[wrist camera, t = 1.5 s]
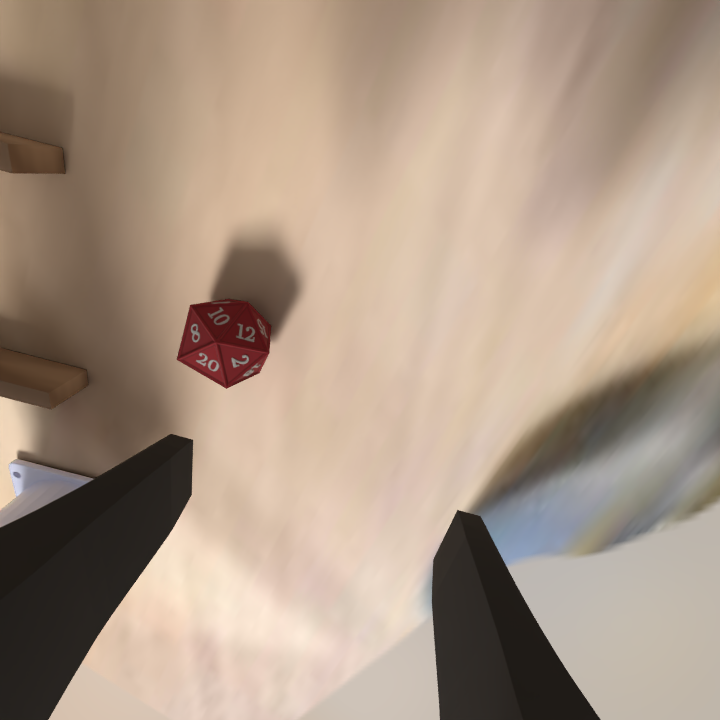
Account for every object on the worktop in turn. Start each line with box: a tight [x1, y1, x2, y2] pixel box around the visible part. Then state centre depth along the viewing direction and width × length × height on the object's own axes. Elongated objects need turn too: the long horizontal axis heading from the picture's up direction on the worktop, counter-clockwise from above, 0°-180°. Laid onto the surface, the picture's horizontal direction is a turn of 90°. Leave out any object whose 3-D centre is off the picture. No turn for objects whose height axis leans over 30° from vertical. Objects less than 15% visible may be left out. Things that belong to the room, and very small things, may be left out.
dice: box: [177, 299, 271, 389], centre depth 17 cm, size 4×4×4 cm
